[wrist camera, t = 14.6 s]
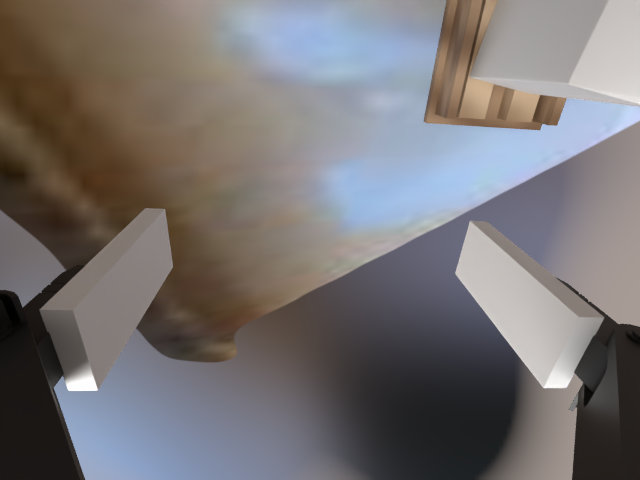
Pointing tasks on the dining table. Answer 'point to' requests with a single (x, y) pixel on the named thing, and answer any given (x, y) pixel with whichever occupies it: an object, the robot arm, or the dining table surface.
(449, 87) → the display stand
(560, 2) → the milk carton
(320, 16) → the dining table surface
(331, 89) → the dining table surface
